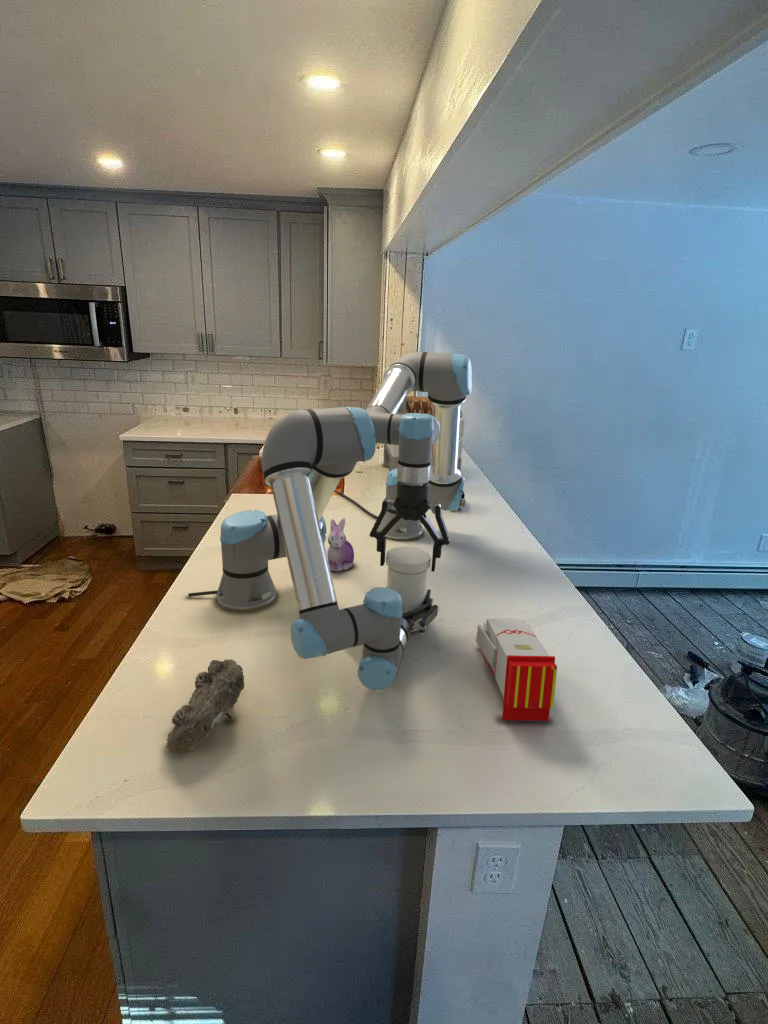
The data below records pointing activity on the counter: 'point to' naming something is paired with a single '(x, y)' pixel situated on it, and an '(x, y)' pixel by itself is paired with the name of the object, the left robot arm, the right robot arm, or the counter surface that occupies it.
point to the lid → (408, 559)
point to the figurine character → (462, 501)
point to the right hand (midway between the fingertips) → (407, 566)
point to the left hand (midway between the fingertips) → (408, 591)
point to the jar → (408, 588)
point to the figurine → (339, 548)
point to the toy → (519, 668)
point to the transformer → (424, 407)
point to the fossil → (206, 705)
